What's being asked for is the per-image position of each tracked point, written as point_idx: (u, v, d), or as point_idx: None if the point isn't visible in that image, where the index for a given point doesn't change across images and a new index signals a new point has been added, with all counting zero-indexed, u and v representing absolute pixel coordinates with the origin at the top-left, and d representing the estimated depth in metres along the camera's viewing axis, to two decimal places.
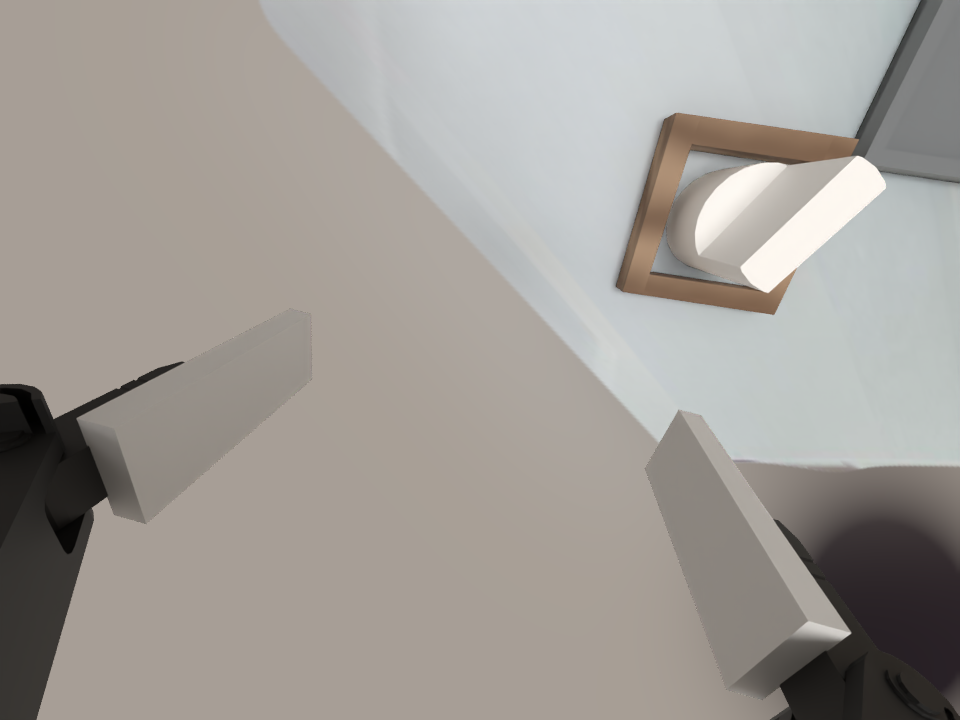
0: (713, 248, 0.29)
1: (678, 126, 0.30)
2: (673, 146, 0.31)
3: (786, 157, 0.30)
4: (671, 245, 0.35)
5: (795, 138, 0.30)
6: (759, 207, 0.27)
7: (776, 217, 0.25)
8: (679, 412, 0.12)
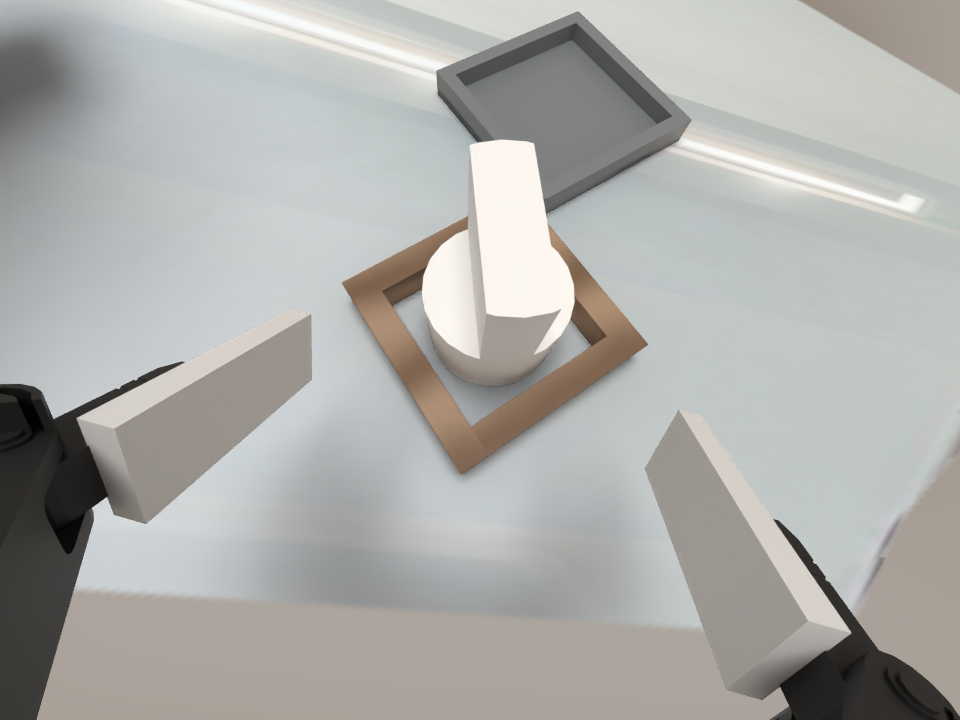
0: (479, 337, 0.19)
1: (354, 289, 0.24)
2: (365, 305, 0.24)
3: None
4: (471, 380, 0.25)
5: None
6: (473, 267, 0.20)
7: (476, 248, 0.17)
8: (678, 412, 0.12)
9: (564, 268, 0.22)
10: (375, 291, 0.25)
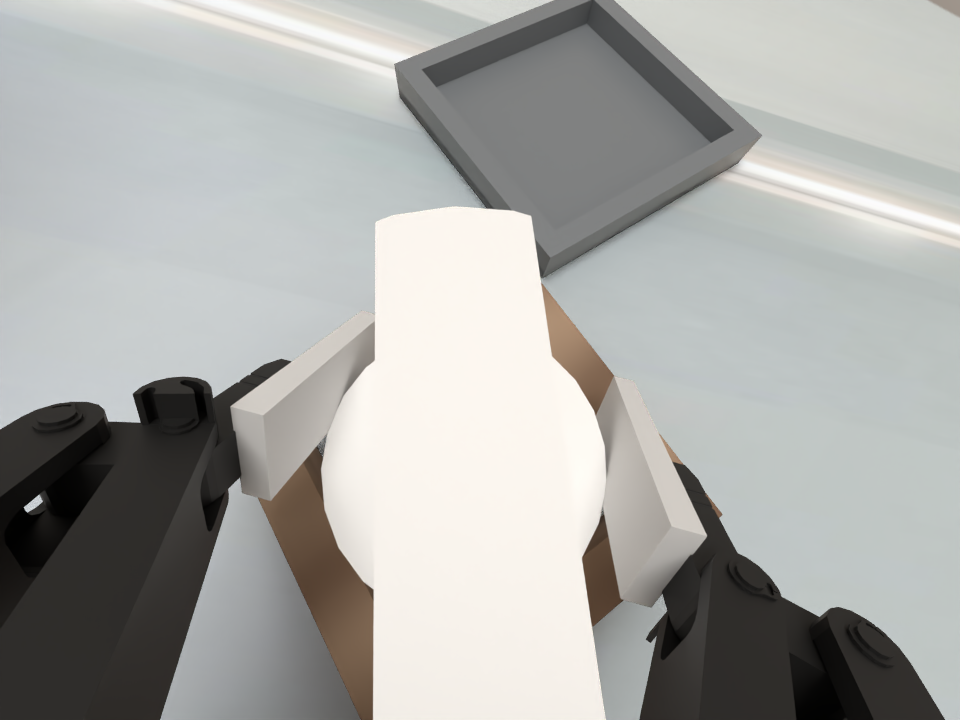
0: None
1: None
2: None
3: None
4: None
5: None
6: None
7: None
8: (613, 378, 0.13)
9: (586, 413, 0.12)
10: None
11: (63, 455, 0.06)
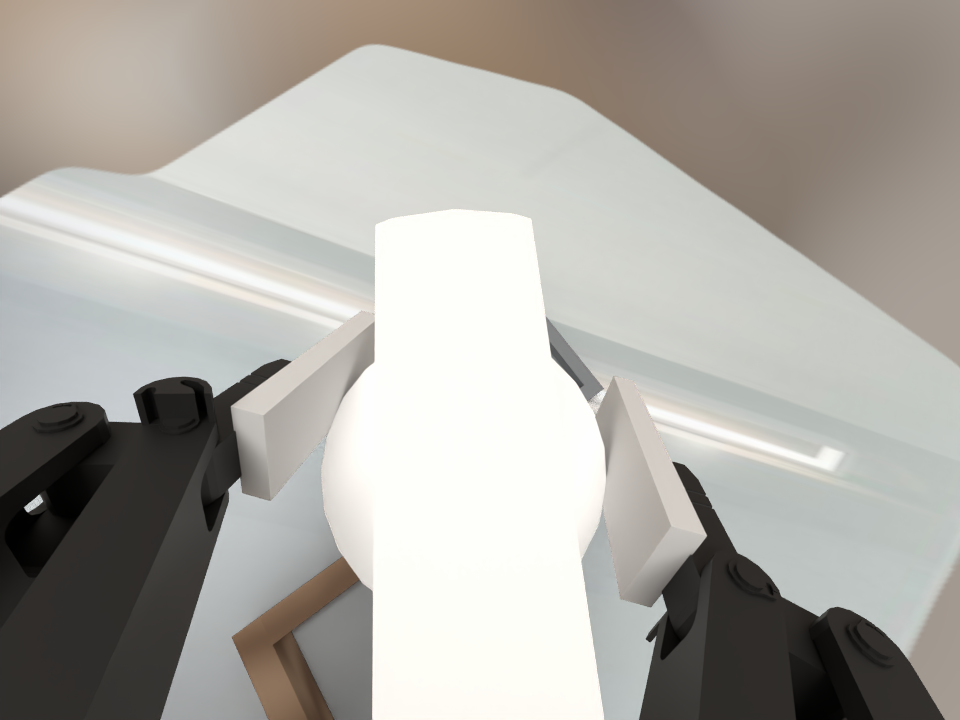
0: None
1: (244, 644, 0.24)
2: (255, 664, 0.24)
3: None
4: None
5: None
6: None
7: None
8: (613, 378, 0.13)
9: (586, 415, 0.12)
10: (265, 646, 0.24)
11: (63, 455, 0.06)
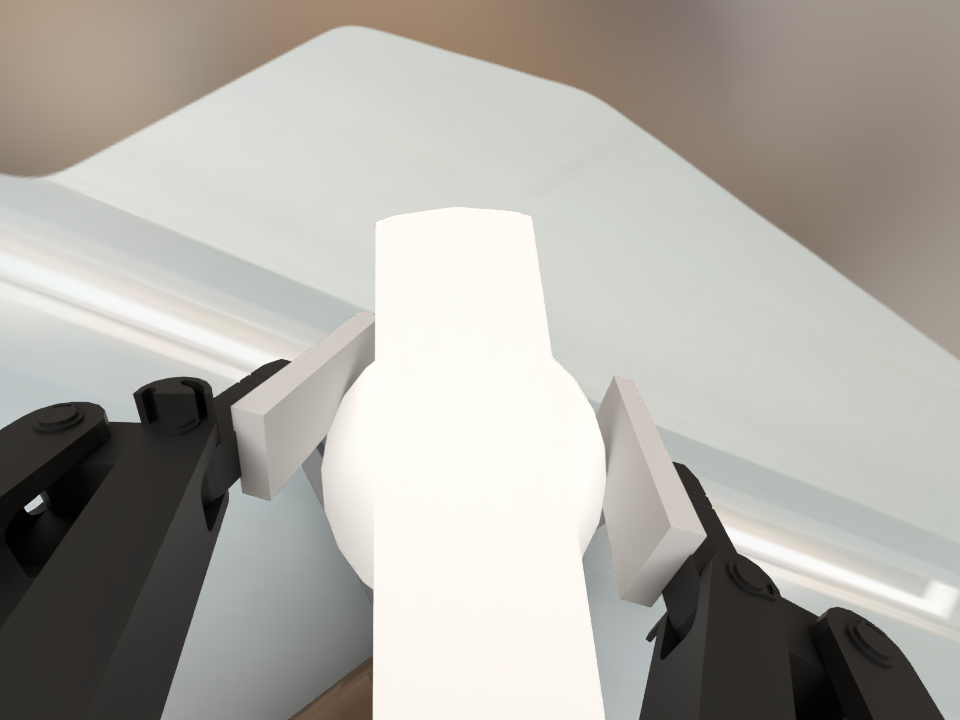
0: None
1: None
2: None
3: None
4: None
5: None
6: None
7: None
8: (613, 378, 0.13)
9: (587, 413, 0.12)
10: None
11: (63, 455, 0.06)
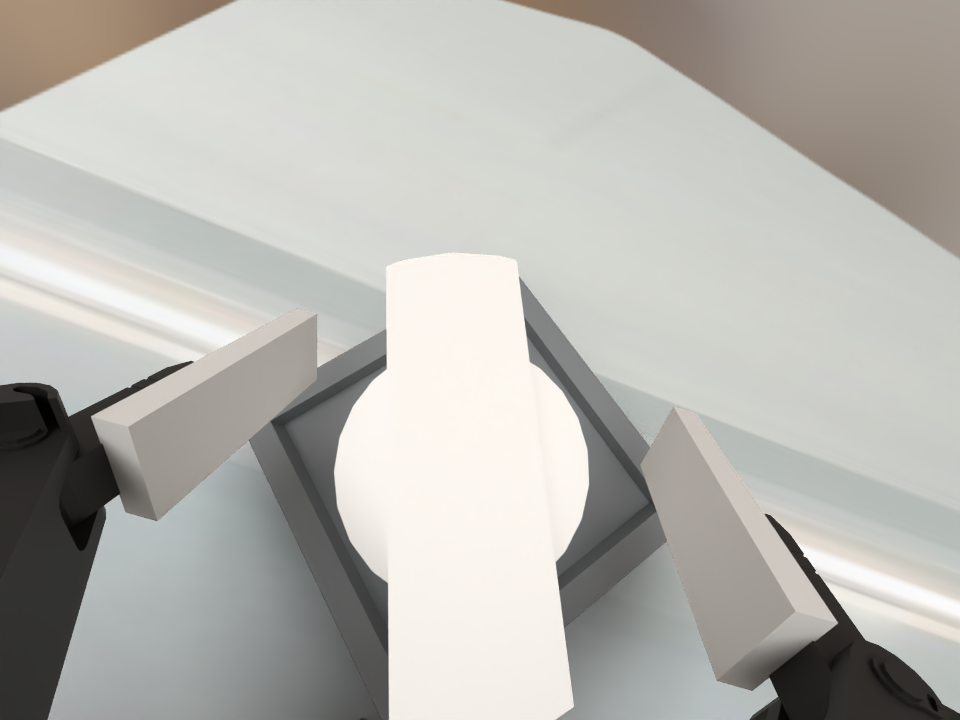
0: None
1: None
2: None
3: None
4: None
5: None
6: None
7: None
8: (673, 409, 0.12)
9: (571, 421, 0.13)
10: None
11: None
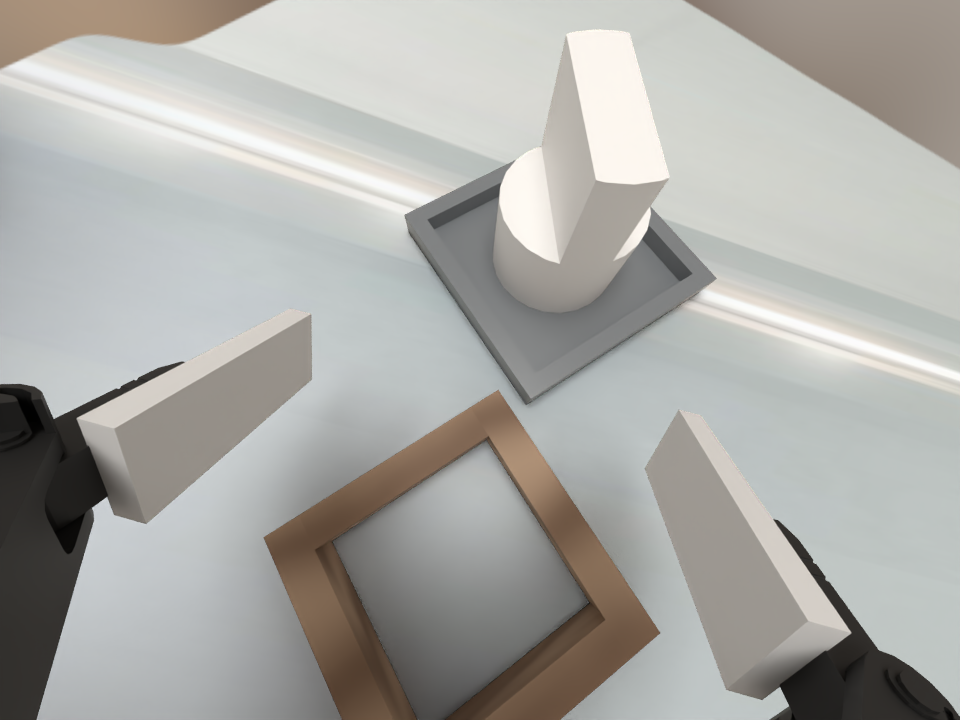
0: (562, 238, 0.19)
1: (279, 547, 0.19)
2: (292, 572, 0.19)
3: (444, 463, 0.21)
4: (536, 304, 0.25)
5: (433, 442, 0.21)
6: (555, 172, 0.20)
7: (571, 136, 0.17)
8: (679, 412, 0.12)
9: None
10: (306, 550, 0.19)
11: None
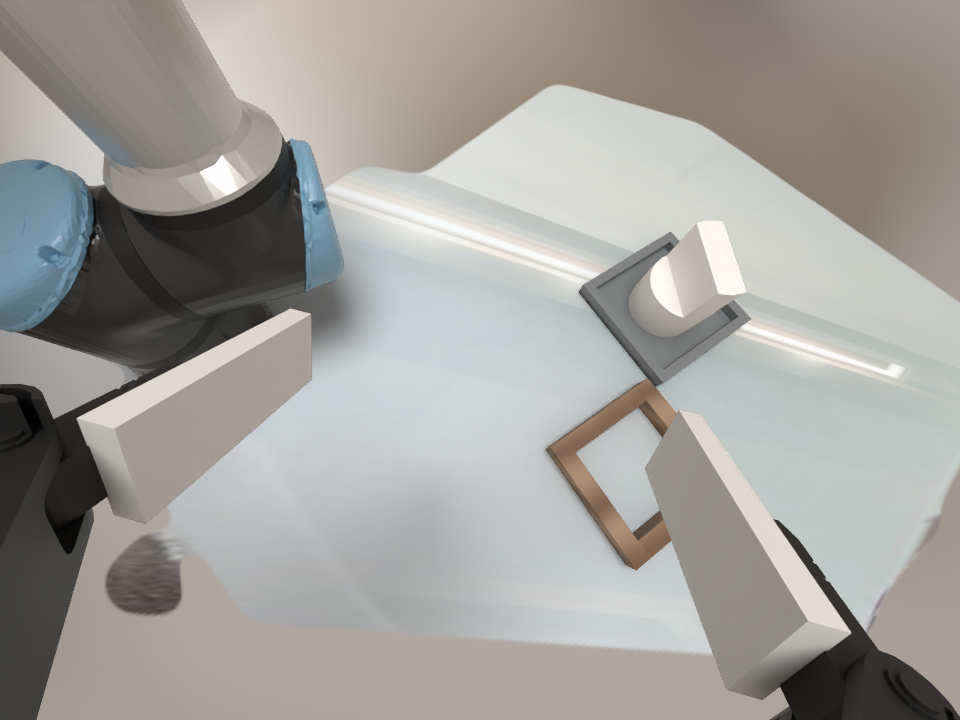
0: (687, 307, 0.41)
1: (558, 451, 0.41)
2: (567, 462, 0.41)
3: (627, 413, 0.43)
4: (657, 333, 0.47)
5: (620, 403, 0.43)
6: (682, 274, 0.42)
7: (699, 267, 0.39)
8: (679, 412, 0.12)
9: None
10: (571, 452, 0.41)
11: None
